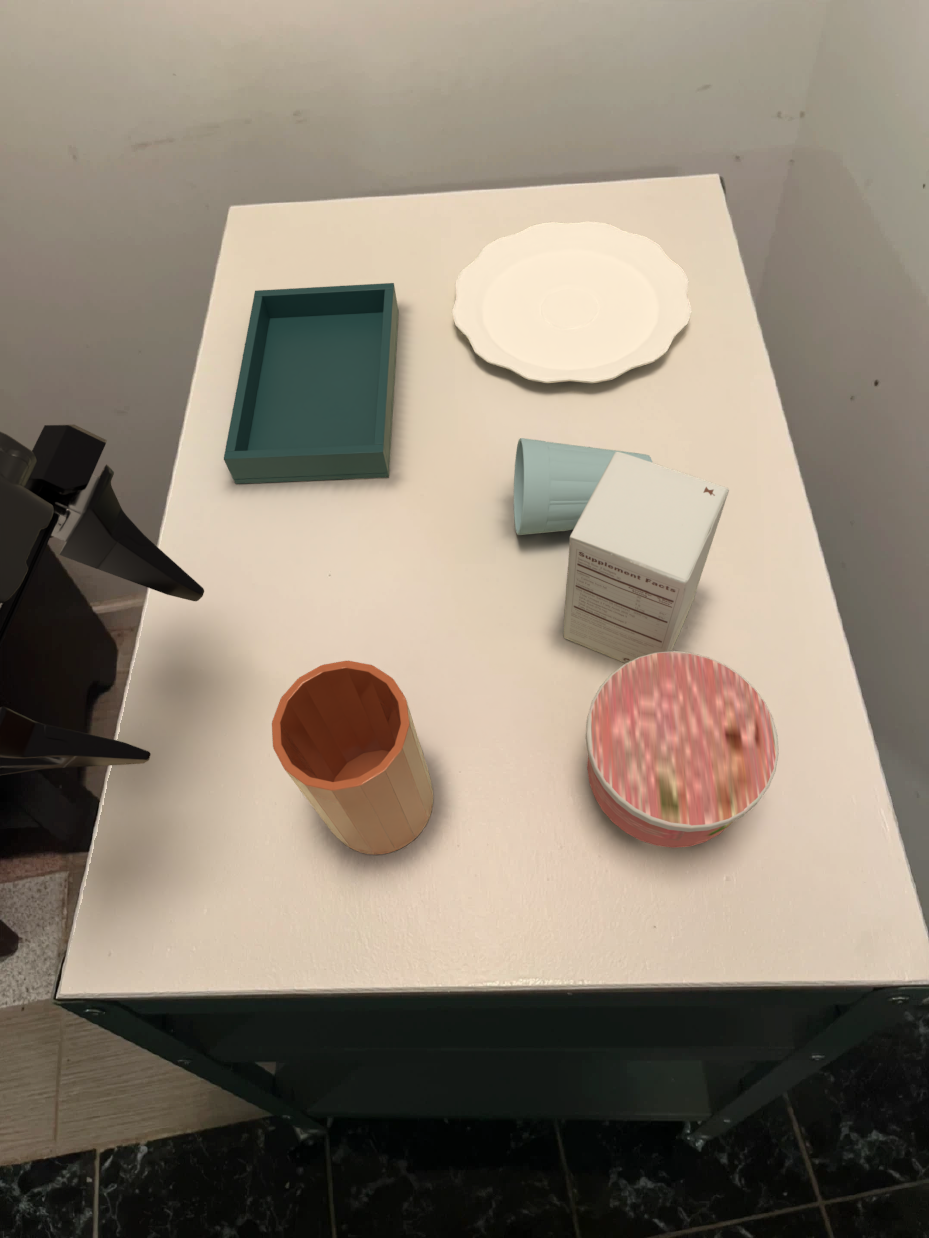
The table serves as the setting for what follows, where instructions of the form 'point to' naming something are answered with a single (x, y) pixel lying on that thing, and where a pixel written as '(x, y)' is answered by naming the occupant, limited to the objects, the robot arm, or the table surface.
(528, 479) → the cup
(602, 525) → the white packaging box
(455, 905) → the table surface
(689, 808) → the container
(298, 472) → the tray
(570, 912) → the table surface
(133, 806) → the table surface
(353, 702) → the tumbler
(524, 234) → the plate
